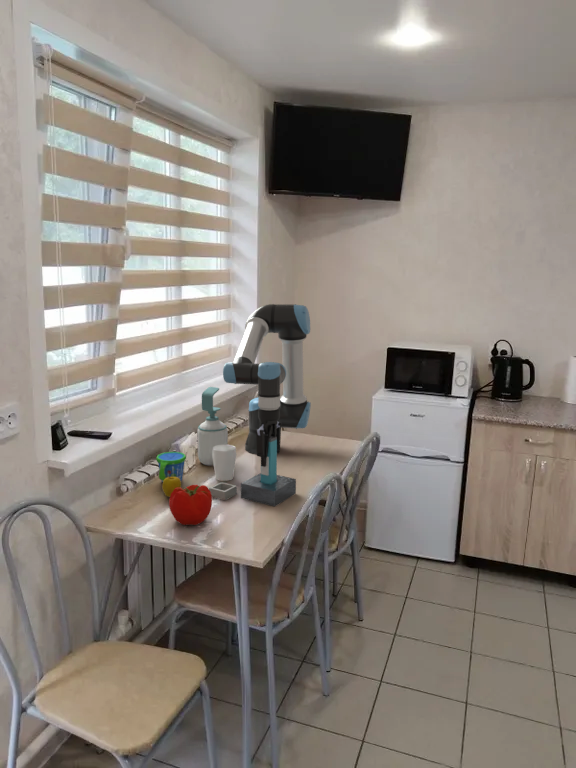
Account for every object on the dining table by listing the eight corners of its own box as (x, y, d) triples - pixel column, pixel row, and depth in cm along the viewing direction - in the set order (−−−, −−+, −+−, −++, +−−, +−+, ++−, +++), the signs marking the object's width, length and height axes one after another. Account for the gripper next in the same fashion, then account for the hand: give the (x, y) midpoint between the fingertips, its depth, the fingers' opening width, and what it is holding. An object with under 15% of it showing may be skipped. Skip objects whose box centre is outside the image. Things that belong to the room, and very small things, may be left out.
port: (263, 485, 224) (263, 470, 222) (295, 493, 217) (295, 478, 215) (240, 498, 212) (240, 482, 211) (274, 506, 205) (274, 490, 204)
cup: (232, 483, 226) (232, 452, 224) (209, 481, 228) (208, 450, 226) (239, 474, 235) (239, 445, 233) (216, 473, 237) (216, 443, 234)
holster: (221, 489, 219) (221, 482, 219) (237, 493, 216) (236, 485, 215) (209, 496, 213) (209, 488, 213) (225, 500, 210) (225, 492, 209)
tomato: (176, 533, 184) (175, 497, 181) (166, 515, 197) (164, 481, 194) (218, 526, 189) (217, 491, 187) (205, 509, 202) (205, 476, 199)
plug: (267, 481, 216) (267, 435, 213) (276, 483, 214) (276, 436, 211) (260, 484, 212) (260, 437, 209) (270, 486, 210) (270, 439, 207)
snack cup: (172, 491, 218) (171, 464, 216) (147, 486, 222) (146, 460, 220) (194, 477, 232) (194, 451, 230) (171, 473, 236) (170, 448, 234)
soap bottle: (233, 460, 252) (233, 387, 246) (217, 469, 241) (216, 392, 235) (209, 456, 257) (208, 384, 251) (191, 464, 246) (190, 389, 240)
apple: (159, 498, 211) (158, 476, 209) (169, 492, 217) (168, 471, 215) (175, 501, 208) (174, 479, 207) (184, 495, 214) (184, 473, 213)
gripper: (273, 401, 217) (272, 464, 221) (245, 411, 203) (245, 477, 207) (291, 404, 213) (290, 467, 218) (264, 414, 199) (264, 481, 203)
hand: (268, 472), depth 212 cm, fingers closed on plug, 4 cm apart
